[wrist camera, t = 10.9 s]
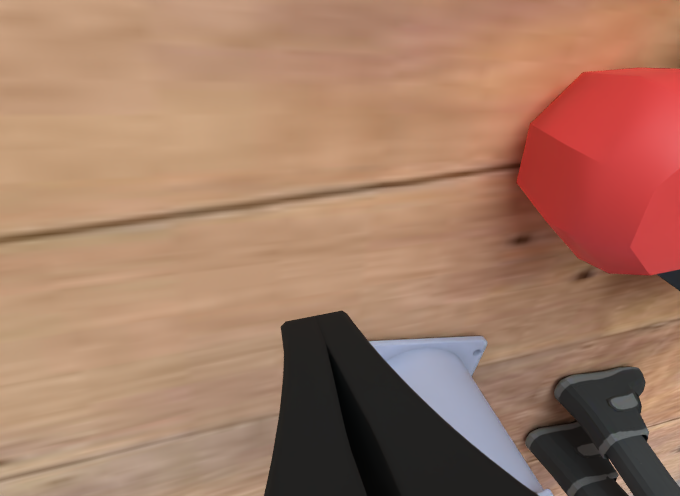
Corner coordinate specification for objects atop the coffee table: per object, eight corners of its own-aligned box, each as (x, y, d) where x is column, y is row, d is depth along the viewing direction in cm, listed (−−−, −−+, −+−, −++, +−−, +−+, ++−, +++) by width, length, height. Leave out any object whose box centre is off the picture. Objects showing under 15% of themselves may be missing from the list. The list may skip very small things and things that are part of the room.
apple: (561, 11, 17) (786, 53, 10) (685, 80, 20) (913, 144, 14) (460, 196, 20) (581, 312, 14) (579, 229, 24) (721, 335, 17)
